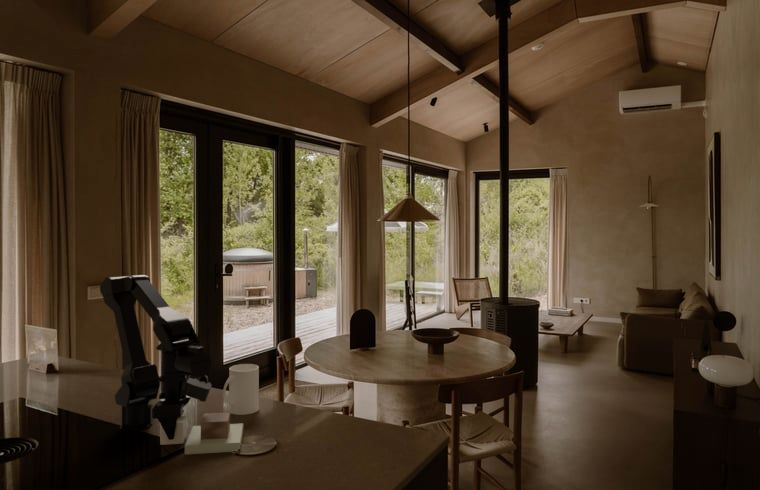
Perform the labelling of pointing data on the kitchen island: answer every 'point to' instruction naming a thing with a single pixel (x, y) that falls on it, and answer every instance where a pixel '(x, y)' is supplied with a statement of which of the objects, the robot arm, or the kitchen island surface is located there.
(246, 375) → the mug
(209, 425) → the walnut block
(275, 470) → the kitchen island surface
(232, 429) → the base board
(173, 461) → the kitchen island surface
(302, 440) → the kitchen island surface
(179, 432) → the ceramic cube
